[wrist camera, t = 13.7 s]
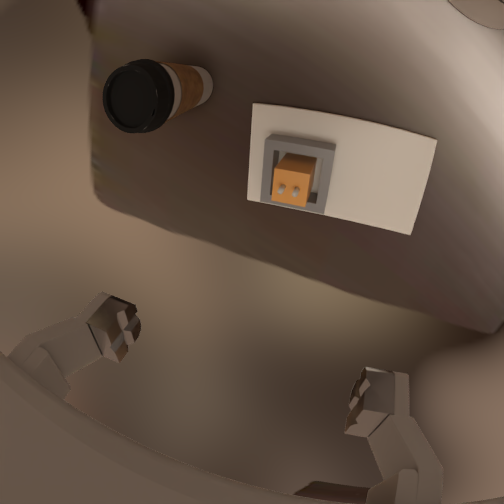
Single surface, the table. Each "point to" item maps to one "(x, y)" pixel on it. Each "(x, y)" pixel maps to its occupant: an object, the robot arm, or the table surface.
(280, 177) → the plug
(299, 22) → the table surface
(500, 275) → the table surface
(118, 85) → the coffee cup
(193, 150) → the table surface
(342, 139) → the white board with socket
